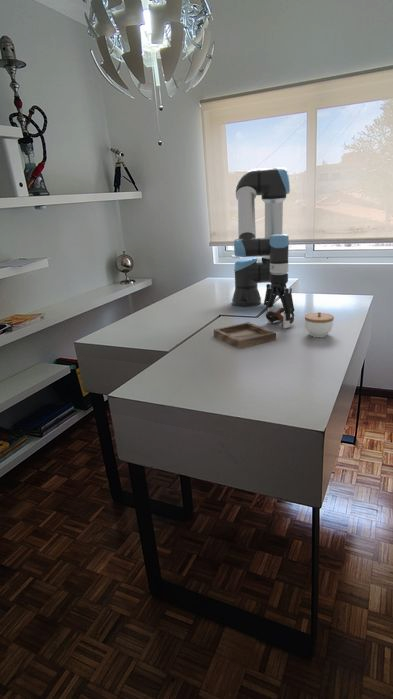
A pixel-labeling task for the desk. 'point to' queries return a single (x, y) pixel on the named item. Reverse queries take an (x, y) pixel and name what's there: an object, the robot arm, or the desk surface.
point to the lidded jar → (319, 324)
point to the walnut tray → (244, 335)
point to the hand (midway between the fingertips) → (278, 324)
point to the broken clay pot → (278, 316)
